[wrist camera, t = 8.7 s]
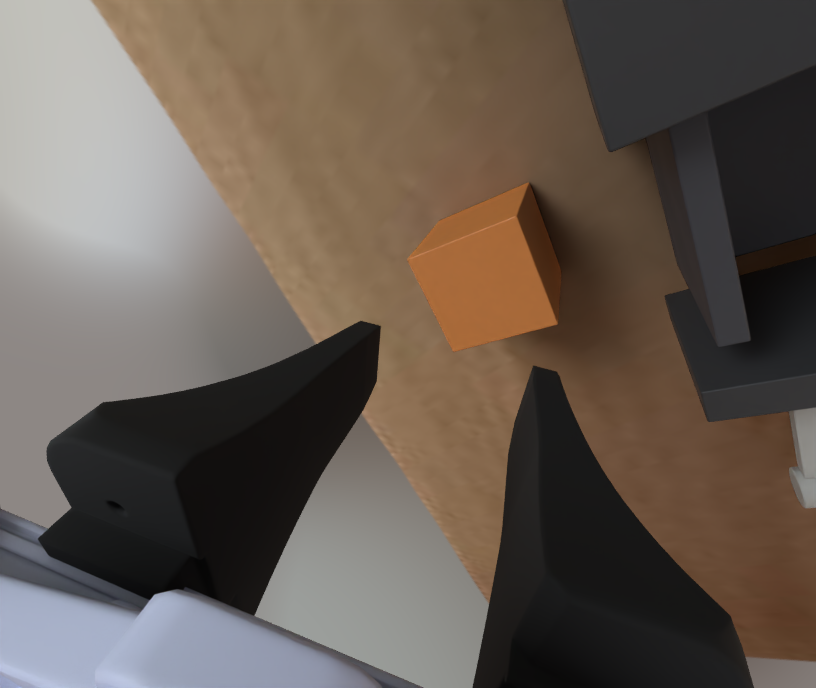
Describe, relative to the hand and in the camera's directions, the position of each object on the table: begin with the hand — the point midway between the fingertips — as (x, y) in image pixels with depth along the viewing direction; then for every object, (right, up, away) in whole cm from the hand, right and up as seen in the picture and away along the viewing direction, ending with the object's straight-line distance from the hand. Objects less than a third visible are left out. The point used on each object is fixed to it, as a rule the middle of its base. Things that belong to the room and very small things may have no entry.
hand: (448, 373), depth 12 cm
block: (+3, +5, +8) cm, 10 cm away
